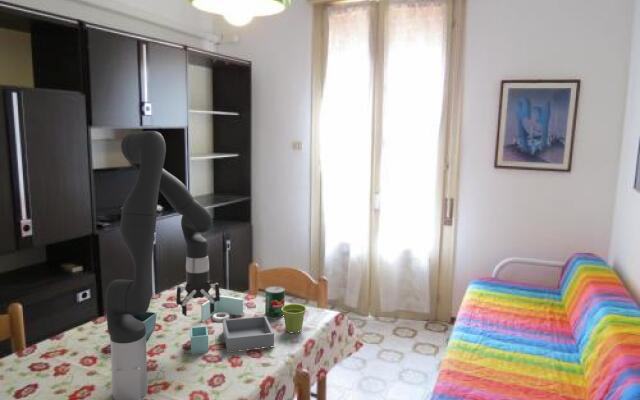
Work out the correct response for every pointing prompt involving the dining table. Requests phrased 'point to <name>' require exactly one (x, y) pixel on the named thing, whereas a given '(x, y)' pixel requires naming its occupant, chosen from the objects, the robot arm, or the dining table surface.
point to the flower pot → (147, 322)
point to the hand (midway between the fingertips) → (198, 314)
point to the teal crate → (199, 339)
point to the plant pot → (293, 317)
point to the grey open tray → (247, 333)
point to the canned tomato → (274, 301)
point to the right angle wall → (222, 309)
